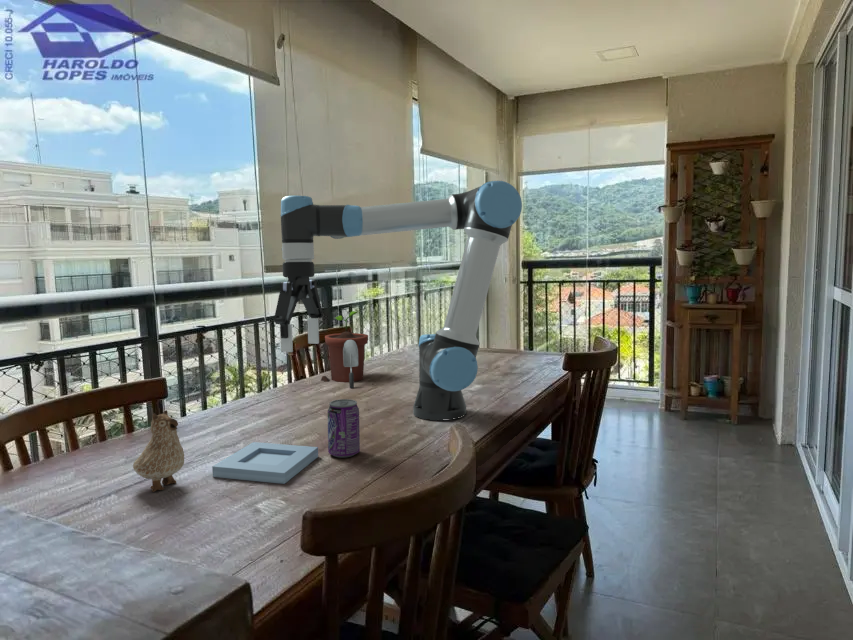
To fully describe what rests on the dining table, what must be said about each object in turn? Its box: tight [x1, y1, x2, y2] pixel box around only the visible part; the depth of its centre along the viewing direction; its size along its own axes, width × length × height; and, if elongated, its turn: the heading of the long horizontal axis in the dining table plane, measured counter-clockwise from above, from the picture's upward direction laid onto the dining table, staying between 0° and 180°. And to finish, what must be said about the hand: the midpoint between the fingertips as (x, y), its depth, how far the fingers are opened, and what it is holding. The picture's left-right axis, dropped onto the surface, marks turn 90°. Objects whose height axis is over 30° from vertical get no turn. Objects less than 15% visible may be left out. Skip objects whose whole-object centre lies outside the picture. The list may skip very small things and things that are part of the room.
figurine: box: [132, 410, 185, 493], centre depth 112 cm, size 9×10×15 cm
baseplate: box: [211, 441, 319, 485], centre depth 123 cm, size 16×16×2 cm
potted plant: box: [320, 310, 369, 389], centre depth 208 cm, size 18×22×25 cm
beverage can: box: [327, 398, 361, 459], centre depth 131 cm, size 7×7×12 cm
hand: (300, 347), depth 143 cm, fingers open, 13 cm apart
